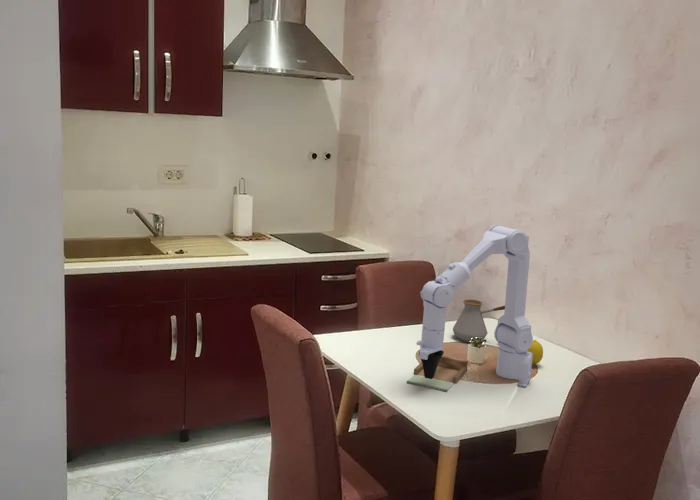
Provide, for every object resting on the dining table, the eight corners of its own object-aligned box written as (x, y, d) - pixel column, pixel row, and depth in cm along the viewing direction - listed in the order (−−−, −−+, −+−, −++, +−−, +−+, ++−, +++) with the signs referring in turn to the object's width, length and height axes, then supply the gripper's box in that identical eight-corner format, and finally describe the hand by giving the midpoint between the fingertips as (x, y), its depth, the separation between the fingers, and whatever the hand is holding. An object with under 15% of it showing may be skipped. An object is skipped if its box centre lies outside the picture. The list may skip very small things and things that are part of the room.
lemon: (542, 369, 196) (545, 343, 194) (523, 367, 197) (526, 341, 196) (540, 363, 201) (543, 338, 200) (522, 361, 202) (525, 336, 201)
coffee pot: (447, 339, 219) (451, 295, 216) (458, 331, 229) (462, 289, 226) (511, 353, 209) (516, 307, 206) (519, 344, 219) (524, 300, 216)
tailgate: (454, 383, 176) (447, 390, 170) (453, 387, 176) (446, 394, 170) (415, 374, 180) (406, 381, 174) (414, 379, 181) (406, 385, 174)
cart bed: (466, 375, 187) (467, 360, 186) (455, 388, 176) (457, 372, 176) (425, 367, 191) (427, 352, 191) (413, 379, 181) (414, 363, 180)
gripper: (427, 318, 179) (423, 366, 181) (409, 332, 165) (405, 383, 168) (452, 323, 176) (448, 371, 178) (436, 337, 163) (432, 389, 165)
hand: (429, 377), depth 173 cm, fingers closed
